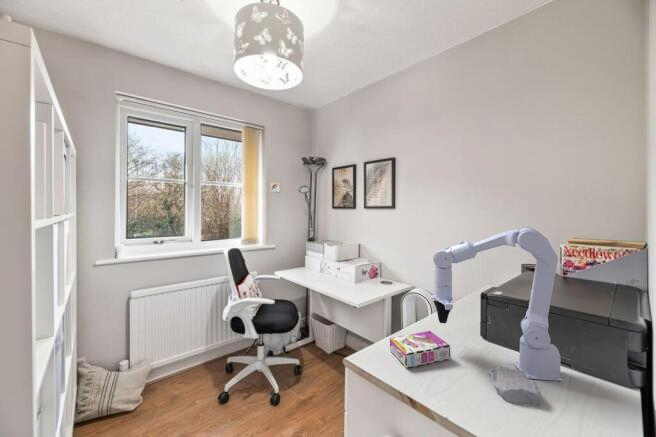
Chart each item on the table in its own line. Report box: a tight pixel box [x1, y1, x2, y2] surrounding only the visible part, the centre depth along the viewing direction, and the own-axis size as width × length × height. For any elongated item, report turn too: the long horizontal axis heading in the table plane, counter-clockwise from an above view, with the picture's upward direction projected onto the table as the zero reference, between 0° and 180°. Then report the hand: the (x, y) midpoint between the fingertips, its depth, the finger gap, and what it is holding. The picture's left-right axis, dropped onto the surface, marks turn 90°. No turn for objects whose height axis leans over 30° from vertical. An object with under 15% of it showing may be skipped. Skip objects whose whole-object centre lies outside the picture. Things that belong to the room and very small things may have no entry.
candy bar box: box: [389, 330, 451, 369], centre depth 93 cm, size 11×5×16 cm
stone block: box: [489, 366, 542, 407], centre depth 76 cm, size 12×5×10 cm
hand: (442, 322), depth 97 cm, fingers closed
